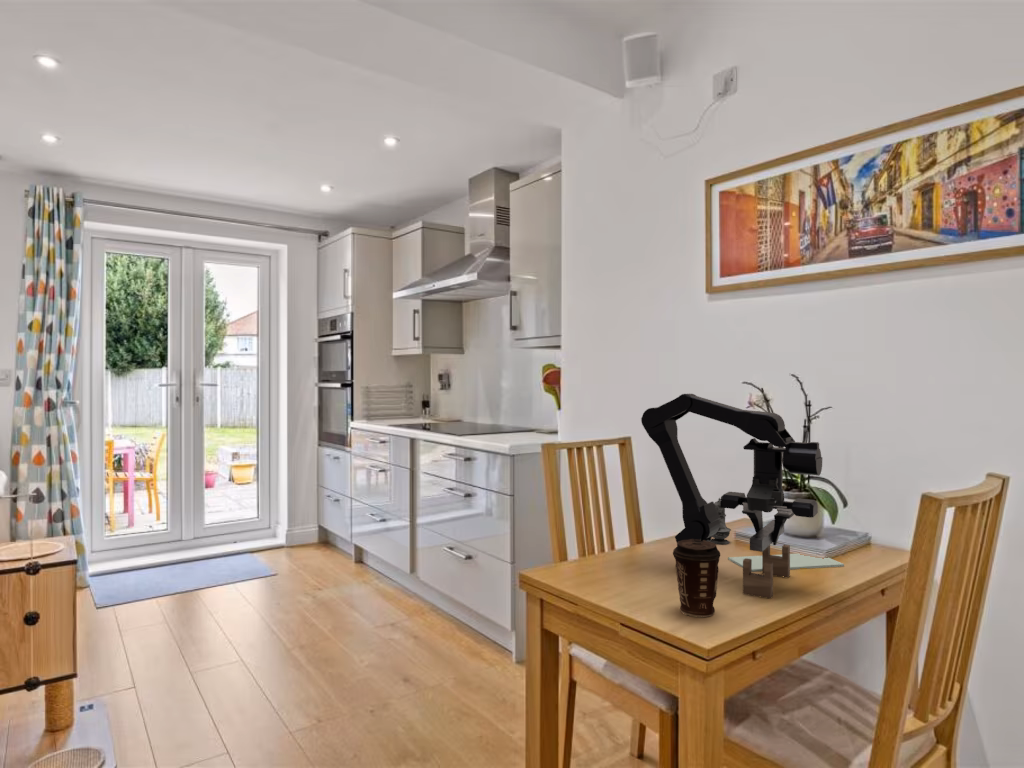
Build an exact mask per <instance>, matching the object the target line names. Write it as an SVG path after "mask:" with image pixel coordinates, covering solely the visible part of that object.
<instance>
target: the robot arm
mask: <svg viewBox="0 0 1024 768" xmlns="http://www.w3.org/2000/svg"><path fill="white" fill-rule="evenodd" d="M689 413H693V414H695V415H699V416H701V417H705V418H708V419H711V420H714V421H718V422H721V423H724V424H727V425H730V426H733V427H734V428H738V429H739V430H740V431H742V432H744V433H745V434H746V435H749V436H751V437H752V438H751V439H750V440H749V441H748V442H747V443H746V445H744V446H743V450H746V451H747V450H749V451H753V476H752V480H751V481H752V482H751V483H752V484H751V486H750V487H749V490H748V492H747V493H746V494H745V492H737V491H727V492H725V493H724V494H723V495H721V497H720V499H721V500H720V501H721V507H722V508H725V509H731V510H735V509H736V508H738V506H742V510H741V513H742V514H743V515H747V517H748V518H749V519H750V521H751V523H752V525H753V528H754V531H755V534H756V533H757V532H758V531H760V530H761V529H762V528H763V527H764V521H763V520H764V519H763V512H764V513H771V512H772V511H774V510H776V513H775V514H774V515H773V517H774V519H773V520H775V524H774V533H773V542H772V545H773V546H776V545H777V543H778V541H779V538H780V536H781V535H780V533H781V531H782V528H783V526H784V527H785V523H786V522H787V520H788V519H789V520H790V519H791V518H792V517H794V516H796V517H802V518H814V517H815V516H816V515H817V514H818V511H819V509H818V508H819V507H818V502H817V501H816V500H815V499H808V498H800V497H799V498H798V497H797V498H795V500H793V501H788V500H787V501H786V500H785V493H784V489H783V480H784V478H783V477H784V476H783V468H784V469H785V470H787V471H788V473H789V474H794V475H806V476H815V477H817V476H821V474H822V470H823V457H822V453H821V452H822V451H821V448H820V443H819V441H817V442H816V441H812V442H811V441H810V442H804V441H803V442H800V441H799V442H798V441H795V439H794V438H793V437H792V435H791V434H790V433H789V431H788V430H787V429H786V424H785V421H784V419H783V417H782V416H781V415H780V414H778V413H775V412H769V411H761V410H750V409H741V408H739V407H736V406H735V407H734V406H733V405H732V406H731V405H728V404H725V403H721V402H718V401H714V400H711V399H708V398H705V397H701V396H698V395H696V394H694V393H682V394H680V395H679V396H678V397H676V398H674V399H672V400H670V401H668V402H666V403H663V404H660V405H659V406H657V407H649V408H647V409H646V410H645V411H644V412H643V413H642V416H641V418H640V421H641V425H642V427H643V429H644V430H645V432H646V434H647V435H648V437H649V438H650V439H651V440H652V441H653V442H654V443H655V444H656V446H658V448H659V450H660V452H661V455H662V458H663V459H664V462H665V465H666V467H667V469H668V472H669V475H670V477H671V479H672V482H673V484H674V487H675V488H676V492H677V494H678V496H679V499H680V501H681V505H682V509H681V510H682V521H683V524H684V528H683V529H682V530H680V531H679V532H678V533H677V534H676V535H674V538H675V542H676V543H677V542H678V541H682V540H689V539H694V540H696V539H698V540H701V541H703V540H706V541H711V539H713V537H712V535H714V534H716V533H717V531H718V529H719V527H720V522H719V519H720V518H721V517H720V516H719V515H718V513H717V511H716V508H715V504H714V503H715V502H714V501H710V502H707V501H706V500H705V499H704V498H703V497H702V495H701V492H700V490H699V488H698V486H697V483H696V480H695V478H694V475H693V473H692V471H691V468H690V466H689V464H688V462H687V459H686V457H685V455H684V453H683V450H682V447H681V445H680V443H679V440H678V424H677V421H679V420H680V419H682V418H683V417H685V416H687V414H689ZM761 441H762V442H761ZM675 567H676V568H677V566H676V565H675Z"/></svg>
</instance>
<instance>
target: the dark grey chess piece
mask: <svg viewBox="0 0 1024 768" xmlns="http://www.w3.org/2000/svg"><path fill="white" fill-rule="evenodd" d="M714 504H715V508H716V511H717V513H718V515H719V516H720V517H721V518H720V519H719V522H720V527H719V529H718V531H717V533H716V534H714V535H712V538H711V541H709V542H711V543H714V544H715V545H720V546H721V545H722V546H724V545H730V543H731V541H729V540H727V538H728V537H729V536H730V532H731V531H732V529H731V528H729V527H728V526H727V525H726V517H727V514H726V508H722V507H721V497H719V498H718V499H717V501H715V502H714Z"/></svg>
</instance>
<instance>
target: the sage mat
mask: <svg viewBox="0 0 1024 768" xmlns="http://www.w3.org/2000/svg"><path fill="white" fill-rule="evenodd" d="M774 555H775V556H781V557H782V554H774ZM745 558H747V559H752V573H755V572H756V573H757V572H762V555H750V556H749V555H747V556H746V555H745V556H732V557H731V556H730V557H727V560H728V561H730V562H731V563H733V564H736V565H737V566H739V567H741V568H742V569H743V560H744V559H745ZM836 567H837V568H838V567H839V568H841V567H845V563H842V562H840V561H837V560H835V559H833V558H831V557H828V558H824V559H822V558H815V557H810V556H804V555H800V554H799V553H790V570H801V569H800V568H807V569H821V568H822V569H823V568H836Z"/></svg>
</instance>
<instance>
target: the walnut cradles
mask: <svg viewBox="0 0 1024 768" xmlns="http://www.w3.org/2000/svg"><path fill="white" fill-rule="evenodd" d="M790 545H791V544H783V545H782V546H781V553H782V557H781V556H775V555H776V554H771V544H770V545H769V546H768V547H767V548H766V549H765V550H764V551H763V552H761V556H762V571H761V572H762V574H760V573H757V572H756V573H755V572H752V559H747V558H745V559H744V560H743V568H742V594H743V593H744V594H743V595H748V594H749V595H750V596H753V595H755V597H759V596H761V597H760V598H764V597H767V598H766V599H769V598H771V597H772V598H773V597H774V575H777V576H776V577H779V576H784V577H783V578H785V577H788V578H789V577H790V576H791V575H790V574H791V569H790V554H791V546H790ZM789 575H790V576H789ZM772 598H771V599H772Z"/></svg>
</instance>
